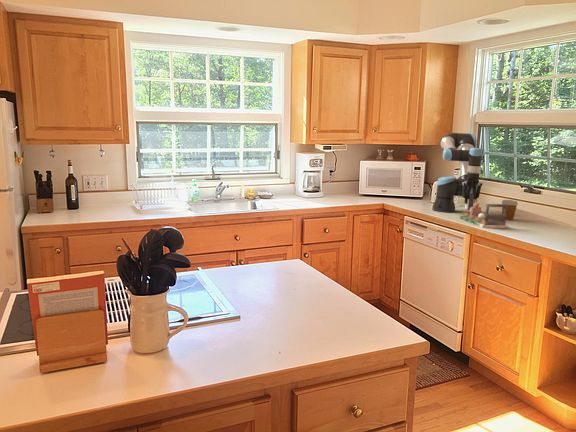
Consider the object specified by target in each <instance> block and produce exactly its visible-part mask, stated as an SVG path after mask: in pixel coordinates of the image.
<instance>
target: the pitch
mask: <svg viewBox="0 0 576 432" xmlns="http://www.w3.org/2000/svg"><path fill="white" fill-rule="evenodd" d="M502 207H504V213H503V215H502V214H489V211H490V208H502ZM507 207H508V205H507V204H502V203H501V204H498V203H486V204H485V213H484V212H482V211H481V213H483V214H484V215H485V218H484V219H481V218H479V217H476V216H474V215H471V214H470V213H468V212H465V211H462V215H460V216H459V219H461V220H463V221H465V222H468V223H470V224H472V223H473V224H472V225H475V226H478V227H479V228H482V229H483V228H484V229H486V228H489V229H490V228H492V229H493V228H494V229H496V228H497V229H499V228H502V229H503V228H504V229H505V228H508V224H506V223H507V222H506V221H507V220H505V219H506V212H507Z"/></svg>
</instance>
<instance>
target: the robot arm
mask: <svg viewBox="0 0 576 432" xmlns="http://www.w3.org/2000/svg"><path fill="white" fill-rule="evenodd" d="M477 143H478V141H477V135H475V133H471V132H469V133H466V132H465V133H464V132H462V133H461V132H460V133H459V132H451V133H450V132H449V133H447V134H445V135H444V136H442V137H441V138H440V147H441V148H442V149H443V151H442V161H448V162H449V161H450V162H459V177H458V178H457V177H456V176H442V177H439V178H438V179H437V184H436V185H437V186H436V194H435V199H434V202H433V204H432V205H431V206H432V207H431V208H432V209H431V210H433V211H436V212H438V213H439V212H440V213H455V212H456V205H455V200H454V199H455V197H461V198H464V202H463V203H464V204H465V205H464V209H465V210H467V209H468V206H469V199H468V197H469V194H474V201H473V207H475V206H474V204H475V203H476V201H477V199H479V198H480V195H481V189H482V186H483V182H480V180H479V179H480V172H481V165H482V159H483V157H482V156H483V148H479V147H477V146H478V145H477Z"/></svg>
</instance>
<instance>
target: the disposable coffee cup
mask: <svg viewBox="0 0 576 432" xmlns="http://www.w3.org/2000/svg"><path fill="white" fill-rule="evenodd" d="M501 204H507V205H508V207H507V212H506V219H505V221H513V220H514V217H515V214H516V211H517V206H518V205H519V203H518V201H517V200H513V199H502V201H501ZM501 212H502V214H501V215H503V213H504V207H501Z"/></svg>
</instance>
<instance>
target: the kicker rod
mask: <svg viewBox="0 0 576 432" xmlns="http://www.w3.org/2000/svg"><path fill="white" fill-rule="evenodd" d="M468 199H469V206H468V209H466V210H468V211H469V214H471V215H474V216H476V217H478V215H479V214H480V213H481V212H482V207H480V203H478V202H475V204H474V207H473V201H474V194H469V197H468Z"/></svg>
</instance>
